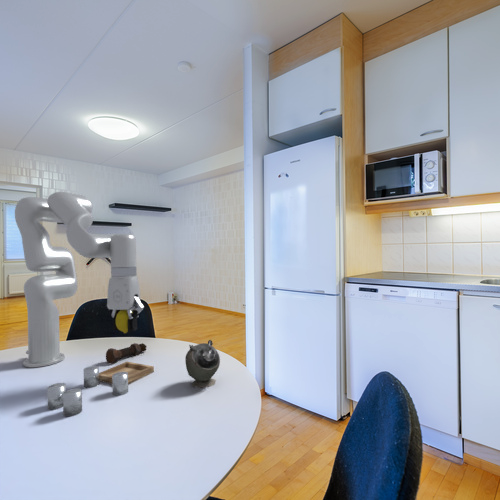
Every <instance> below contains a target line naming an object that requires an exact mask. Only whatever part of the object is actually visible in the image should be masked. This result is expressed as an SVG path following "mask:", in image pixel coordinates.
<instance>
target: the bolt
mask: <svg viewBox="0 0 500 500" xmlns="http://www.w3.org/2000/svg"><path fill="white" fill-rule="evenodd" d="M146 351H147V345H146V344H145V343H140V344H139V343H136V342H135V343H134V342H133V343H131V344H130V346H128V347H124V348H121V349H116V348H108V349H107V350H106V352H105V360H106V362H107V364H109V365H114V364H118V363H117V362H118V361H119V360H120V359H123V358H127V357H131V356H133V357H137V356H139V355H140V354H141V353H144V352H146Z"/></svg>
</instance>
